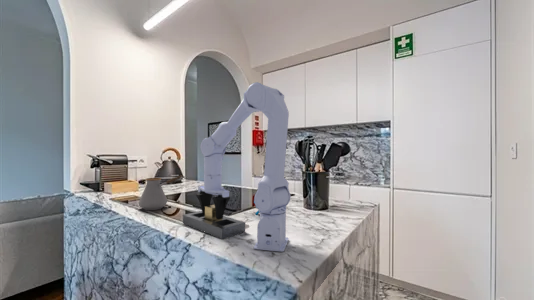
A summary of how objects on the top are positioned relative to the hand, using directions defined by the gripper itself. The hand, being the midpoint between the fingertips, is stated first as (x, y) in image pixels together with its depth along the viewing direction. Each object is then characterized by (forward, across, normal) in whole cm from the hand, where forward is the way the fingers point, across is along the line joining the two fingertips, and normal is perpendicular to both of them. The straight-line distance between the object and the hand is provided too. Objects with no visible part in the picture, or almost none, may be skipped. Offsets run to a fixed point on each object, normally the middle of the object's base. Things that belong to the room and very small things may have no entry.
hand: (212, 216), depth 83 cm
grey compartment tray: (+4, 0, 0) cm, 4 cm away
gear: (+4, -2, -23) cm, 24 cm away
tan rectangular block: (+4, 0, 0) cm, 4 cm away
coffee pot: (+4, +37, 0) cm, 37 cm away
